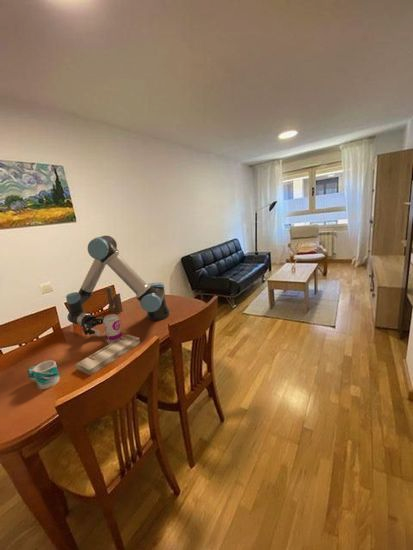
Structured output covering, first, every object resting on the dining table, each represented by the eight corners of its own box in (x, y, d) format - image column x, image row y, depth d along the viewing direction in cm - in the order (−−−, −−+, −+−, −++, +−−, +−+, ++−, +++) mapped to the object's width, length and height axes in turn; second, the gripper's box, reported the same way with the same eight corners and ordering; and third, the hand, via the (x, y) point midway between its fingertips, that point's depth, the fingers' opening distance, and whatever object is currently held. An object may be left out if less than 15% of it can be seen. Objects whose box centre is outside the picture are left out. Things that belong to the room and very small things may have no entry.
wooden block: (119, 313, 174) (115, 289, 169) (108, 311, 179) (104, 288, 174) (123, 311, 177) (119, 287, 172) (112, 309, 182) (108, 286, 177)
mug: (48, 390, 100) (44, 372, 98) (25, 387, 103) (19, 370, 100) (63, 376, 108) (59, 360, 106) (41, 374, 110) (36, 358, 108)
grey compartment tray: (127, 338, 137) (126, 333, 136) (140, 342, 132) (139, 337, 131) (77, 369, 112) (76, 363, 112) (90, 375, 107) (89, 369, 107)
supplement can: (125, 338, 137) (121, 314, 133) (114, 346, 130) (110, 321, 126) (115, 336, 141) (110, 312, 137) (103, 343, 134) (99, 318, 130)
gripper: (106, 318, 156) (128, 324, 145) (67, 335, 135) (91, 344, 124) (104, 307, 154) (126, 312, 143) (65, 323, 133) (88, 331, 122)
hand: (110, 327), depth 133 cm, fingers open, 13 cm apart
